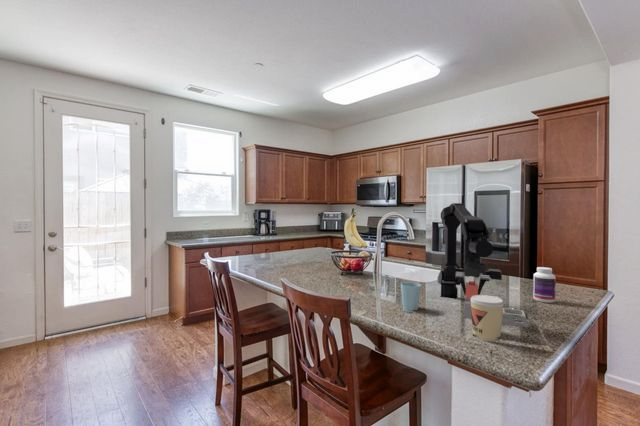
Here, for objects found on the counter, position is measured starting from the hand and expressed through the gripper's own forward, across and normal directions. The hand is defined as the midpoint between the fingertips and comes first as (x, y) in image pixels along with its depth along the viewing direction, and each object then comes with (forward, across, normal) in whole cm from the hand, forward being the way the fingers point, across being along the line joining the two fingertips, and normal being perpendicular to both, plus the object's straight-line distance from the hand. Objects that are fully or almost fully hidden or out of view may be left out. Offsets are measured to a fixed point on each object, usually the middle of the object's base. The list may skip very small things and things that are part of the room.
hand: (471, 295), depth 119 cm
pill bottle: (+8, +28, +39) cm, 49 cm away
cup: (+8, -22, -2) cm, 23 cm away
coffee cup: (+8, +4, -17) cm, 19 cm away
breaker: (+6, +7, +13) cm, 16 cm away
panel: (+8, +7, +5) cm, 12 cm away
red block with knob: (+1, 0, 0) cm, 1 cm away
